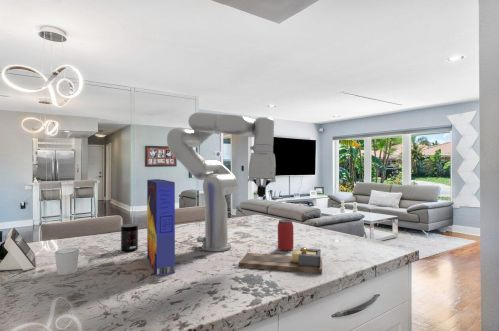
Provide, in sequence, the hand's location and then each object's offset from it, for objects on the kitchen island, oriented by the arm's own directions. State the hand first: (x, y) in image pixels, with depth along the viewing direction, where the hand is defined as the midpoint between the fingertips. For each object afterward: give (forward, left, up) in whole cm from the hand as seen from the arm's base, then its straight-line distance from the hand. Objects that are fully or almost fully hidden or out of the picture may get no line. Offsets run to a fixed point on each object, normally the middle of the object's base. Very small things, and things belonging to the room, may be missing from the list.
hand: (261, 196), depth 116 cm
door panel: (+9, -9, -23) cm, 26 cm away
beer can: (+8, +11, -23) cm, 27 cm away
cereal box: (-33, -19, -23) cm, 44 cm away
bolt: (+17, -9, -21) cm, 29 cm away
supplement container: (-55, -6, -23) cm, 60 cm away
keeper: (+19, -9, -22) cm, 30 cm away
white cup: (-59, -33, -23) cm, 71 cm away
